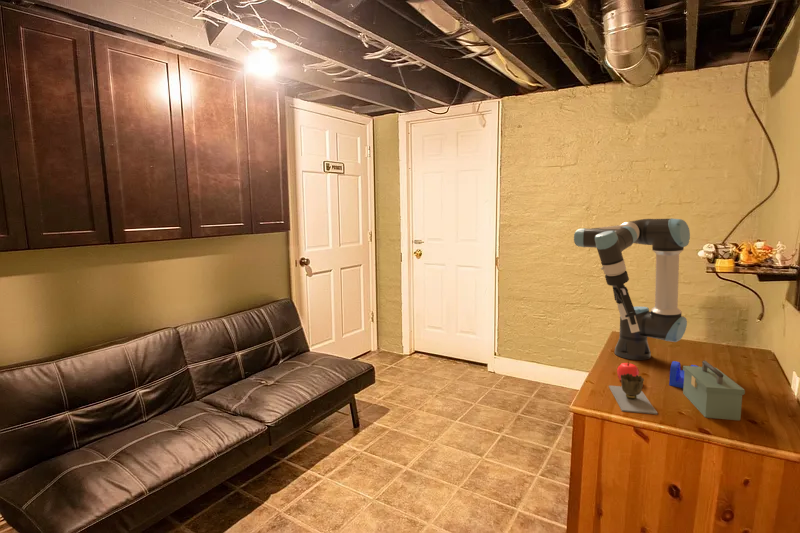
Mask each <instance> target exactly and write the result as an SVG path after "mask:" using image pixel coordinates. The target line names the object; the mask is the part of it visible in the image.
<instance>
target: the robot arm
mask: <svg viewBox="0 0 800 533" xmlns="http://www.w3.org/2000/svg"><path fill="white" fill-rule="evenodd" d="M690 238H691V232H690V227H689V225H688V223H687V222H686V221H685V220H684V219H681V218H643V219H637V220H632V221H625V222H623V223H622V224H619V225H611V226H610V225H609V226H602V227H601V226H600V227H592V228H586V227H585V228H577V230H575V232H574V234H573V242H574V244H575V246H576V247H579V248H580V247H581V248H596V250H597V253H598V256H599V260H600V264H601V267H600V270H601V271H602V270H603V273H604V278H605V283H606V285H608V286H609V287H610V286H611V287H612V291H613V296H614V300H615V303H616V305H617V309H618V312H619V316H620V317H619V337H618V341H617V342H616V345H615V347H614V354H615V355H616V356H618V357H620V358H622V359H626V360H634V361H646V360H649V359H651V356H652V354H651V350H650V346H649V342H648V338H651V339H656V340H662V341H665V342H672V343H677V342H679V341H681V340H682V338H683V337H684V335H685V333H686V330H687V329H686V328H687V325H688V321H687V318H686V317H685V316H682V310H681V309H680V308H679V306H678V302H679V299H678V298H679V276H680V273H679V270H680V269H679V268H680V255H681V253H682V252H683V251H684V250H685V249H684V248H686V247H687V246H689V243H690V240H691V239H690ZM634 244H637V245H644V246H645V245H646V246H647V245H648V246H652V247H651V248H652V249H651V250H652V252H654V253H655V288H654V289H655V291H654V297H655V298H654V306H653V307H652V308H650V309H649V307H647V306H634V304H633V302H632V300H631V297H630V294H629V289H628V288H627V286H625V284H626V283H628V282H629V281H630V278H629V275H628V271H627V267H626V262H625V259H624V257H623V253H622V252H623V251H624V250H626V249H628V248H630V247H631V246H632V245H634Z"/></svg>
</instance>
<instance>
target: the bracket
mask: <svg viewBox="0 0 800 533" xmlns="http://www.w3.org/2000/svg"><path fill="white" fill-rule="evenodd" d="M670 364H671V365H670V368H669V369H670V370H669V381H668V382H669V383H668V385H669V386H670V387H674V388H675V387H676V388H679V389H683V386H684V370H683V369H681V362H680V361H676V360H675V361H674V360H673V361H671V363H670ZM690 366H696V367H700V366H699V365H696V364H691V365H690Z"/></svg>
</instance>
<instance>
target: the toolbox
mask: <svg viewBox="0 0 800 533" xmlns="http://www.w3.org/2000/svg"><path fill="white" fill-rule="evenodd" d="M701 363H702V366H699V367H696V366H697V365H696V366H691V365H682V370H684V386H683V388H682V393H683V395H684V396H685V397H686V398H687V399H688V401H689V402H690V403H691V404H692V405H693V406H694V408H696V409H697V410H698V412H699V413H700V414H701V415H703V417H704V418H706V419H719V420H721V419H722V420H731V421H741V415H742V403H743V396H744V395H745V394H746V390H745V389H744V388H743V387H742V386H741V385H739V384H738V383H736V381H734V380H733V379H732V378H730V377H729V376H728V375H726V374H725V373H724V372H722V371H721V370H720V369H719V368H717V367H715V366H713V365H712V364H710V363H709V362H708V361H707V360H702V362H701Z"/></svg>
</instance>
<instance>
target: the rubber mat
mask: <svg viewBox="0 0 800 533" xmlns="http://www.w3.org/2000/svg"><path fill="white" fill-rule="evenodd" d="M608 388H609V390H610V391H611V393H612V395H613V397H614V399H615V401H616V403H617V405H618V406H619V408H620V411H621V412H628V413H635V414H636V413H637V414H638V413H640V414H647V415H650V414H651V415H658V413H659V412H658V411H657V410H656V409H655V407H654V405H652V404H651V401H650V400H649V399H648V398H647V396H646V394H645V393H644V392H643V390H642V391H641V393H640V394H639V395H637V398H636V399H628V398H627V397H626V393H625V392H624V391H623V389H622V385H621V386H620V385H608Z"/></svg>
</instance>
